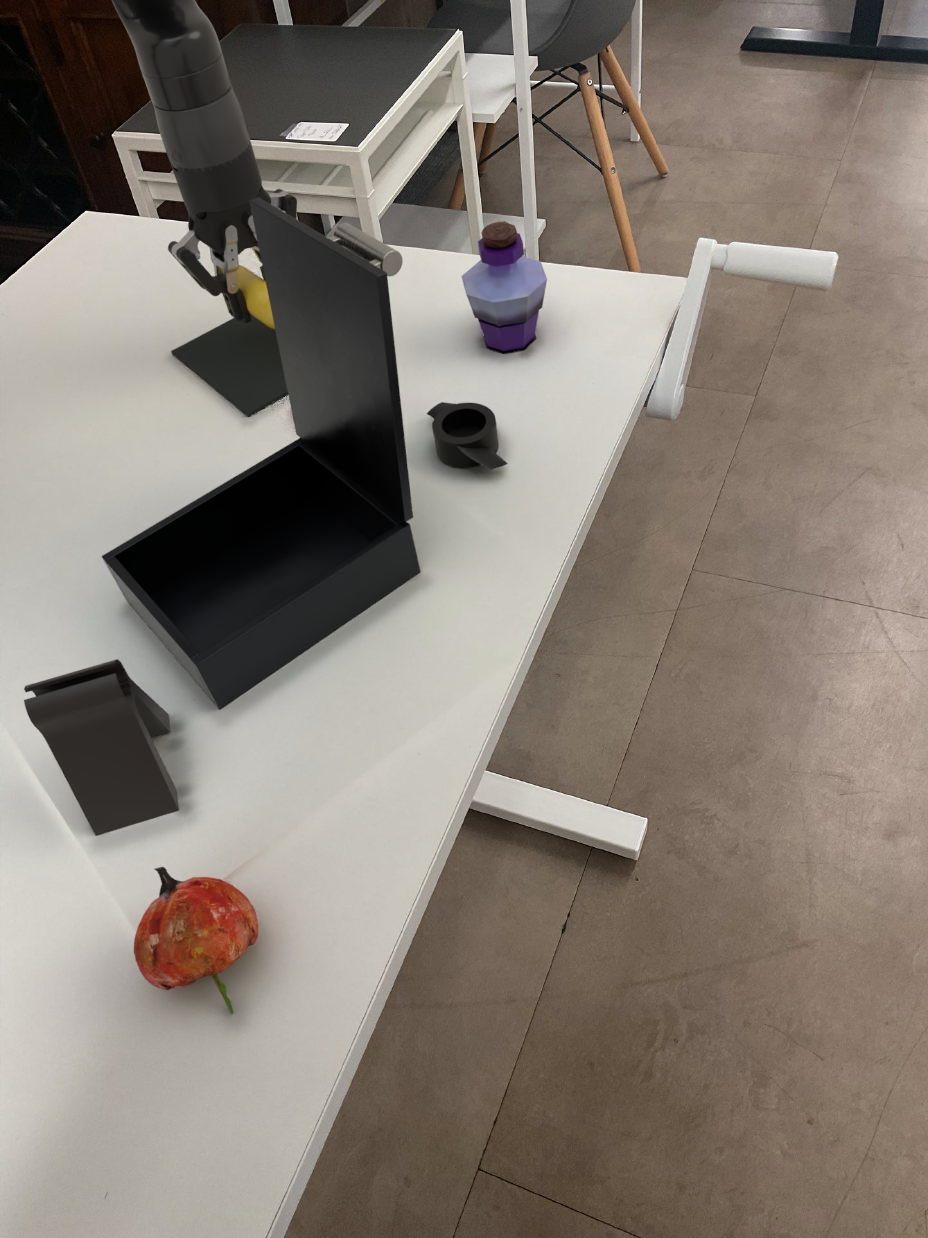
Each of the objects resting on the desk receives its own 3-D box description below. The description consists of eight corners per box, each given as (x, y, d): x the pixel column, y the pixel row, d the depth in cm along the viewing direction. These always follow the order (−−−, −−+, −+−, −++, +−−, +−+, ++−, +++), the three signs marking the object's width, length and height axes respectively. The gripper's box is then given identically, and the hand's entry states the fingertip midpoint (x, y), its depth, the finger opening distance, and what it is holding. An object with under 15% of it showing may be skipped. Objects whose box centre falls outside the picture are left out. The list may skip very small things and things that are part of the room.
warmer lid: (377, 276, 63) (443, 248, 66) (248, 200, 72) (311, 177, 74) (405, 522, 78) (459, 492, 80) (296, 434, 87) (347, 409, 89)
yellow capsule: (277, 341, 100) (267, 309, 98) (218, 299, 107) (208, 268, 104) (306, 325, 102) (297, 293, 99) (247, 284, 108) (237, 253, 105)
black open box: (222, 715, 77) (196, 666, 72) (130, 606, 85) (100, 555, 81) (422, 578, 84) (410, 524, 79) (317, 490, 92) (301, 436, 87)
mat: (248, 417, 100) (247, 414, 100) (172, 354, 109) (170, 350, 109) (375, 344, 106) (375, 340, 106) (293, 289, 115) (292, 286, 114)
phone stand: (182, 817, 71) (118, 722, 62) (99, 842, 71) (22, 750, 62) (172, 718, 77) (112, 618, 68) (95, 741, 77) (24, 643, 68)
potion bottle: (558, 314, 105) (552, 205, 96) (542, 365, 100) (534, 254, 91) (479, 311, 107) (465, 204, 98) (459, 360, 102) (443, 252, 93)
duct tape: (509, 410, 96) (506, 385, 94) (508, 481, 90) (506, 456, 88) (429, 416, 97) (424, 391, 95) (423, 487, 91) (418, 462, 88)
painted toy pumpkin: (295, 975, 65) (240, 830, 66) (273, 1014, 58) (212, 851, 58) (187, 1017, 65) (133, 872, 66) (152, 1062, 58) (92, 898, 58)
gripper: (252, 104, 95) (297, 268, 109) (120, 163, 91) (184, 327, 104) (295, 125, 91) (336, 293, 104) (159, 189, 86) (221, 356, 100)
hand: (260, 309), depth 104 cm, fingers closed on yellow capsule, 3 cm apart
